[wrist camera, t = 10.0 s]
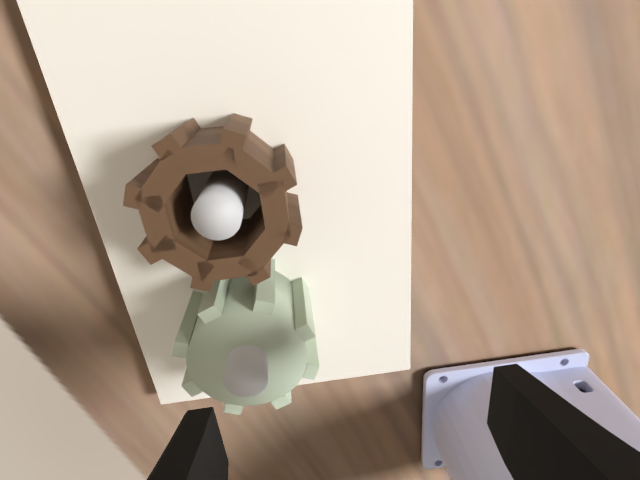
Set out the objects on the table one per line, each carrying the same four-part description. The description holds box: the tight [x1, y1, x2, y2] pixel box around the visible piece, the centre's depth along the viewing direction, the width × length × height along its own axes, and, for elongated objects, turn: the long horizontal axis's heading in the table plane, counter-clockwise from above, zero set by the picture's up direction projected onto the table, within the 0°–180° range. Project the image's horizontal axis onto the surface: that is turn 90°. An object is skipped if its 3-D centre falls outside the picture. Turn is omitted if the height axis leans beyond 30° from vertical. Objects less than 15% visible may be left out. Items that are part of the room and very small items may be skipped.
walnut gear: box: [123, 113, 303, 292], centre depth 14 cm, size 6×5×4 cm
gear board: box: [17, 0, 413, 415], centre depth 15 cm, size 13×20×6 cm, turn 5°
